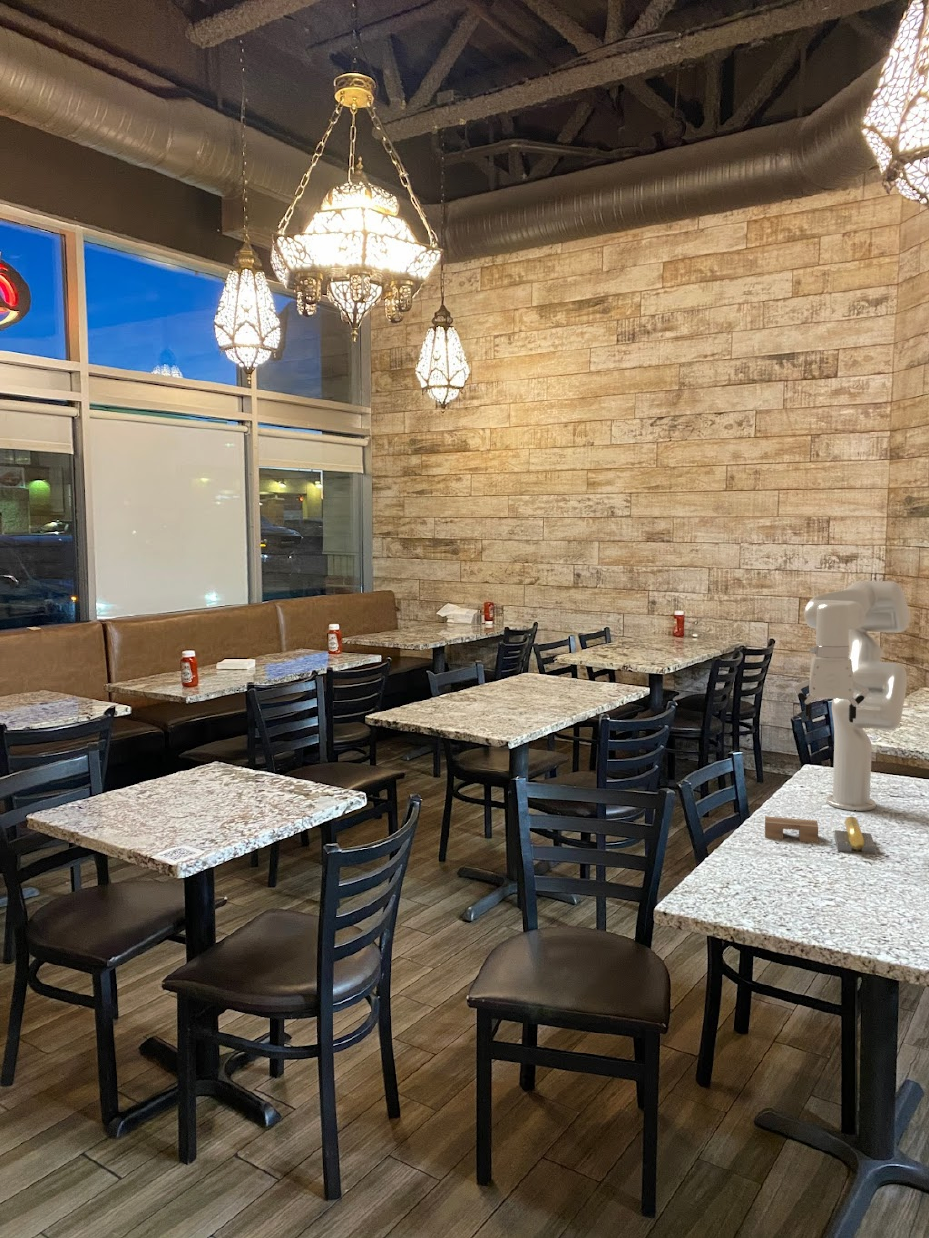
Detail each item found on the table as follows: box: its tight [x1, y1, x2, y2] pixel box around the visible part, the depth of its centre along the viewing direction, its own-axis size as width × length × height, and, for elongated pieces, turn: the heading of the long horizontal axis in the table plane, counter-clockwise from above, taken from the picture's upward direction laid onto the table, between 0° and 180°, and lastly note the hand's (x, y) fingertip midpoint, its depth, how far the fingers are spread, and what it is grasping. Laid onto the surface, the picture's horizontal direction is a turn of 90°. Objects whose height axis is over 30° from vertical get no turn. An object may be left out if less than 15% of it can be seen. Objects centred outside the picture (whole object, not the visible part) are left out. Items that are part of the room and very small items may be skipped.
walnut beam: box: [764, 815, 819, 843], centre depth 214 cm, size 5×12×5 cm, turn 72°
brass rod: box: [844, 816, 865, 849], centre depth 208 cm, size 14×3×3 cm, turn 162°
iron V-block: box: [833, 829, 877, 856], centre depth 207 cm, size 10×8×3 cm
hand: (830, 720), depth 220 cm, fingers open, 9 cm apart
